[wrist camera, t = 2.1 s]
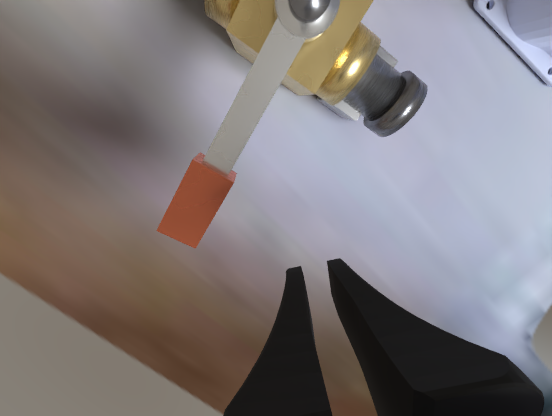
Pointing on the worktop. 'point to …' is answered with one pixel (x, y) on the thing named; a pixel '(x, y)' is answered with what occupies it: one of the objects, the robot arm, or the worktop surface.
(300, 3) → the valve lever
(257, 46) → the pipe valve
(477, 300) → the worktop surface
